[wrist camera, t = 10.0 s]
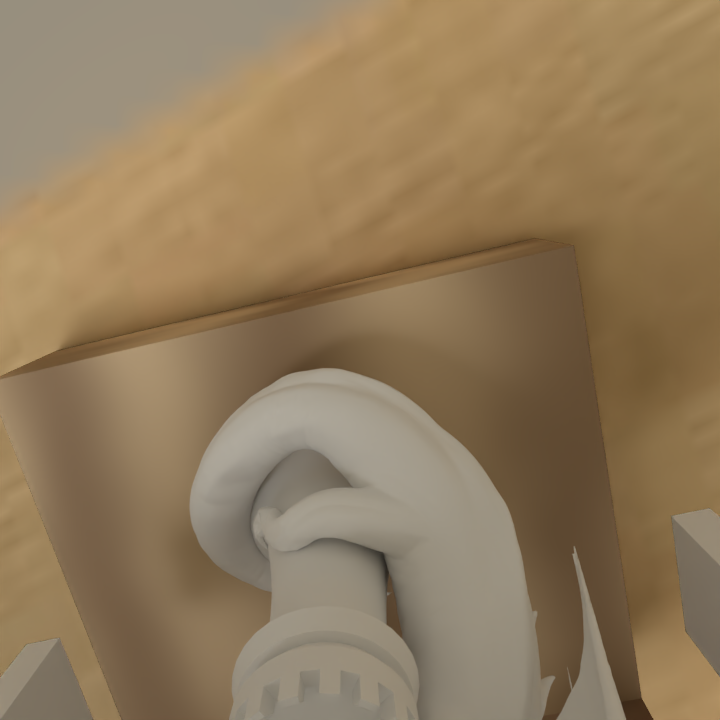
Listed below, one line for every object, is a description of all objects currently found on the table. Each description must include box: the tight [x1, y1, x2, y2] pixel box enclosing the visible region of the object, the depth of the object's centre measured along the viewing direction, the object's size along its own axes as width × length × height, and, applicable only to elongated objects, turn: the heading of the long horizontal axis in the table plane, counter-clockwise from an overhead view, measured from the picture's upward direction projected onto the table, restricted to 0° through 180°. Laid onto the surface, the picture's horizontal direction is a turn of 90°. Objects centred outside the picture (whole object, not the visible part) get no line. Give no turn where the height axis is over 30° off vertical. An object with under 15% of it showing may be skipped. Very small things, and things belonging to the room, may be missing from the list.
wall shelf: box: [0, 238, 653, 720], centre depth 12 cm, size 15×15×16 cm
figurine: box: [189, 368, 626, 720], centre depth 10 cm, size 11×8×12 cm
